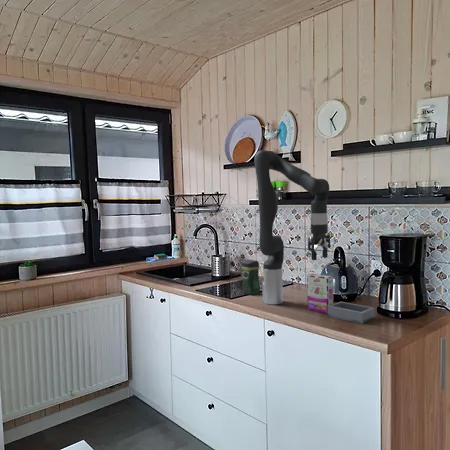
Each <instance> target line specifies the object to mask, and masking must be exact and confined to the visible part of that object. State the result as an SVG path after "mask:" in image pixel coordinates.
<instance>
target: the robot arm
mask: <svg viewBox="0 0 450 450" xmlns="http://www.w3.org/2000/svg"><path fill="white" fill-rule="evenodd" d="M253 162H254V169H255V174H256V182H257V183H256V184H257V193H258V194H257V195H258V196H257V197H258V210H259V249H260V252H261V254H262V255H264V256H268V257H267V259H266V260H264V261H263V263H262V265H263V266H262V268H263V270H262V271H263V282H262V284H261V285H262V287H261V289H262V292H261V293H262V302H263V303H264V304H265V305H280V304H283V303H284V299H283V298H284V296H283V293H284V292H283V263H284V259H285V257H284V256H285V255H284V254H285V247H284V245H285V243H284V241H283V238H281V237H280V235H274V234H273V232H274V231H273V226H274V222H275V220H276V216H277V214H278V208H279V206H278V205H279V203H278V195H277V191H276V189H275V188H274V185H273V183H272V180H271V176H270V170H273V171H275V172H279V173H281V174H282V175H284V177H285V178H287V179H288V180H289V181H291V182H292V183H294V184H295V185H298V186H300V187H302V188H303V189H304V191H306V192H308V193H310V194H311V195H314V199H313V200H311V201H310V202H311V203H310V234H311V235H312V237H311V236H310V237H307V243H308V244H307V250H308V251H310V252H311V257H310V258H311V260H312V261H317V259H318V257H317V254H318V253H317V250H318V249H319V248H320V247H321V248H322V258H324V259H325V258H326V259H327V258H328V257H329V256H328V253H329V252H328V250H329V248H331V246H332V245H331V234H328V233H329V230H328V228H329V227H328V225H329V223H328V222H329V220H328V219H329V217H328V207H327V206H328V200H329V195H330V185H329V182H328V181H327V180H326V179H324V178H316V177H313V176H312V174H310V173H309V172H308V171H306V170H304V169H302V168H300V167H298V166H295V165H293V164H291V163H290V162H288V161H286V160H285V159H284V158H283V157H281V156H280V155H279V154H277V153H276V152H275V151H273V150H265V149H264V150H263V149H262V150H261V149H260V150H258V151H257V152H256V153H255V155H254V161H253Z"/></svg>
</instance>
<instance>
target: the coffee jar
mask: <svg viewBox="0 0 450 450" xmlns="http://www.w3.org/2000/svg"><path fill="white" fill-rule="evenodd" d="M259 270H260V262H259V261H258V260H255V259H243V260H242V261H241V271H242V285H241V286H242V288H241V289H242V293H243V294H245V295H258V294H260V293H261V289H260V288H261V287H260V279H259V278H260V277H259Z"/></svg>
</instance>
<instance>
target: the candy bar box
mask: <svg viewBox="0 0 450 450" xmlns="http://www.w3.org/2000/svg"><path fill="white" fill-rule="evenodd" d="M306 284H307V285H306V289H307V290H306V291H307V292H306V293H307V294H306V295H307V296H306V297H307V310H308V311H312V312H317V313H323V314H327V315H328V306H330V305H332V304H334V275H324V274H318V273H317V274H316V273H310V274H308V275H306Z"/></svg>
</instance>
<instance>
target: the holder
mask: <svg viewBox="0 0 450 450" xmlns="http://www.w3.org/2000/svg"><path fill="white" fill-rule="evenodd" d="M375 312H376V308H375V307H373V306H367V305H363V304H362V305H361V304H356V303H350V302H345V301H339V302H336V303H333V304H332V305H330V306H328V314H327V317H329V318H335V319H339V320H343V321H348V322H353V323H357V324H359V325H360V324H361V325H363V324H366V323H367V322H370V321H373V320H374V319H375V318H376V313H375Z"/></svg>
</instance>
